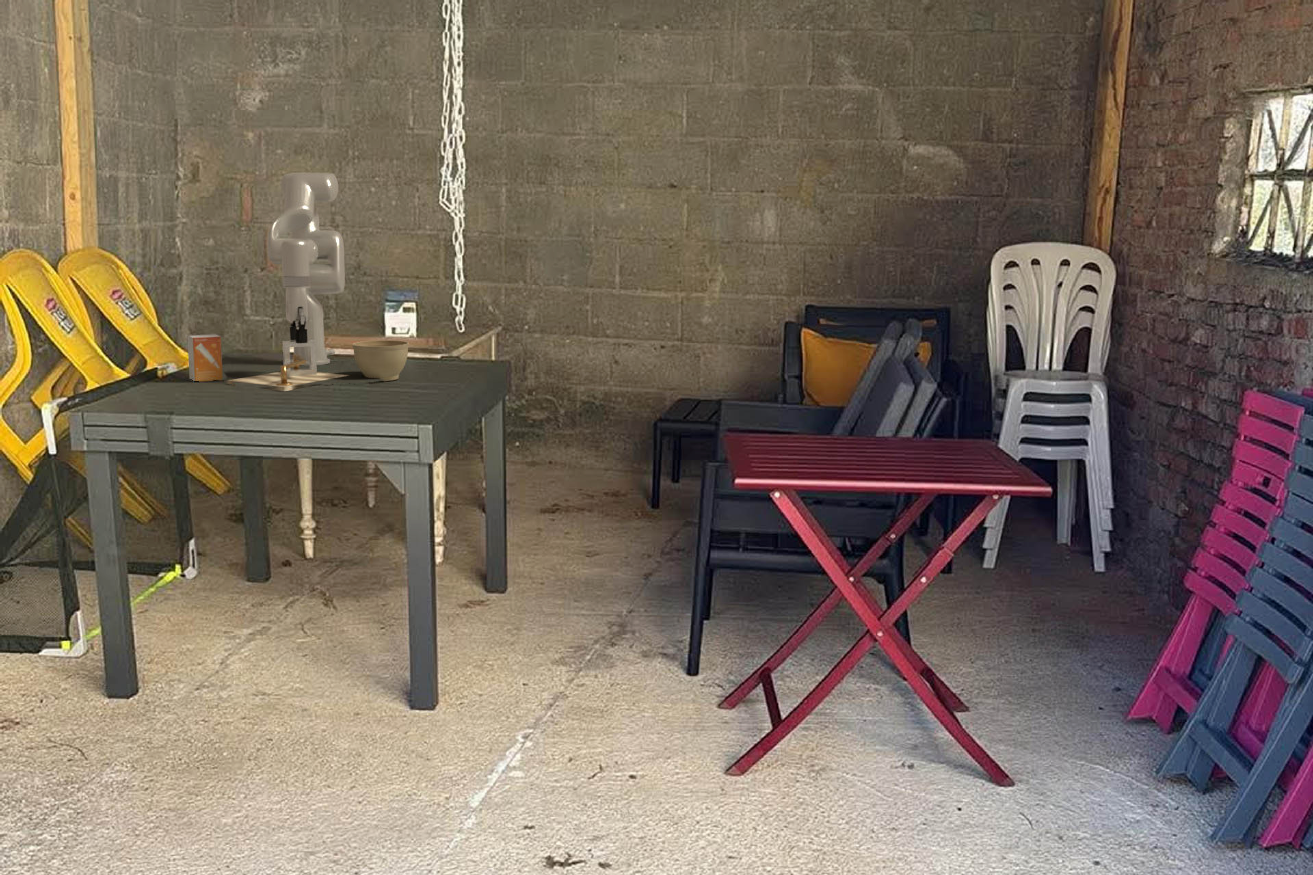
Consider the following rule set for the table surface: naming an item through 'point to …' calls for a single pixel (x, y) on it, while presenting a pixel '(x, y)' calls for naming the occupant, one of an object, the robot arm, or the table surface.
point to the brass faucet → (296, 362)
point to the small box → (205, 357)
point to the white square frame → (311, 358)
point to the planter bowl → (381, 358)
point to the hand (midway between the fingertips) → (298, 341)
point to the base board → (296, 380)
